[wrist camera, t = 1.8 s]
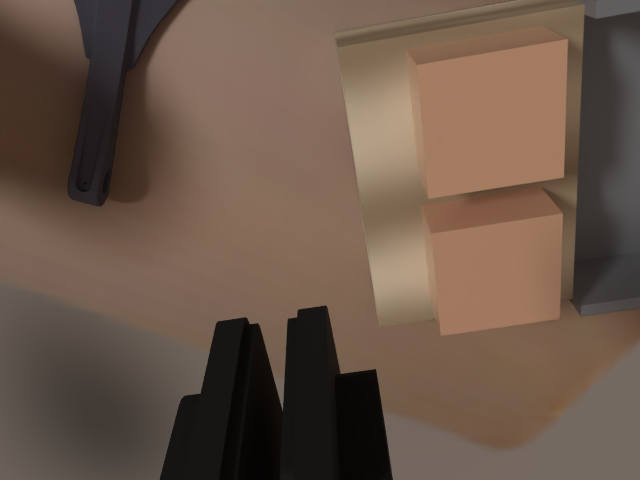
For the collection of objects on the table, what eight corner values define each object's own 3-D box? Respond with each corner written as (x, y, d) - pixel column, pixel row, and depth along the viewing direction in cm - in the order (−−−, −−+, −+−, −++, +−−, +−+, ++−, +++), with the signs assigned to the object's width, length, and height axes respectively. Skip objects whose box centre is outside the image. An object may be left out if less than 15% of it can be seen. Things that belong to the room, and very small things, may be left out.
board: (334, 32, 25) (337, 47, 22) (555, -7, 24) (584, 4, 22) (373, 291, 31) (379, 326, 29) (550, 265, 31) (572, 299, 28)
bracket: (-61, 148, 28) (-96, 171, 26) (-62, -242, 21) (-109, -260, 19) (246, 224, 30) (240, 253, 28) (334, -105, 23) (338, -106, 21)
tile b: (421, 205, 26) (431, 233, 23) (540, 186, 25) (562, 213, 23) (430, 302, 28) (440, 335, 26) (539, 286, 28) (559, 318, 26)
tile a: (406, 49, 23) (416, 65, 20) (542, 25, 22) (568, 39, 20) (417, 172, 25) (428, 199, 23) (541, 153, 25) (564, 177, 22)
